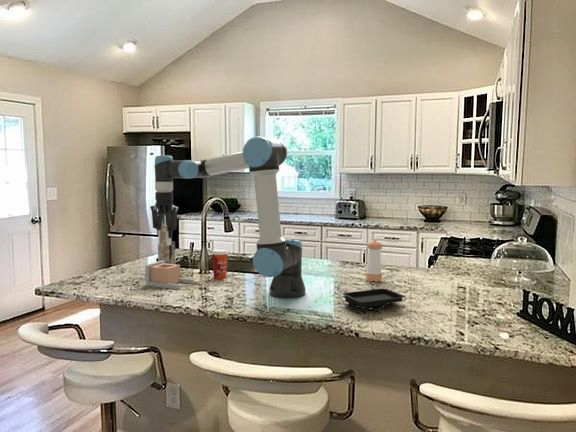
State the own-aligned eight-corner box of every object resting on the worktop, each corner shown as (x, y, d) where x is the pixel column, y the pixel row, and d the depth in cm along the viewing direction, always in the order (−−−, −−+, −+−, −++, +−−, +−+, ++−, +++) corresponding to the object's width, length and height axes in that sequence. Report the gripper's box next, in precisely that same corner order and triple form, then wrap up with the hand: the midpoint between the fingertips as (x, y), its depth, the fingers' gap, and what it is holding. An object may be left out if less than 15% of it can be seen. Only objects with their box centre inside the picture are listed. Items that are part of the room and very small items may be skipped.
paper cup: (219, 282, 216) (219, 252, 215) (208, 280, 221) (208, 250, 220) (231, 279, 222) (231, 250, 221) (220, 277, 227) (220, 248, 226)
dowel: (170, 256, 209) (170, 225, 207) (166, 257, 206) (165, 226, 204) (164, 256, 210) (163, 224, 209) (159, 257, 207) (159, 225, 205)
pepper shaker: (380, 278, 227) (382, 239, 225) (382, 282, 219) (383, 241, 217) (365, 278, 227) (366, 238, 225) (366, 281, 220) (367, 241, 218)
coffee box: (171, 277, 227) (170, 243, 225) (158, 276, 227) (157, 243, 225) (176, 272, 236) (175, 240, 234) (163, 272, 236) (162, 240, 234)
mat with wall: (206, 281, 218) (205, 260, 217) (181, 292, 199) (180, 268, 198) (171, 278, 225) (171, 257, 224) (144, 287, 206) (143, 265, 205)
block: (180, 282, 211) (180, 264, 211) (168, 287, 203) (167, 268, 202) (163, 280, 215) (163, 263, 214) (151, 285, 206) (150, 267, 206)
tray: (353, 293, 200) (353, 281, 200) (409, 299, 192) (410, 286, 192) (335, 313, 172) (335, 299, 172) (399, 321, 164) (400, 306, 164)
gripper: (185, 191, 205) (185, 244, 208) (154, 190, 211) (154, 242, 214) (175, 192, 198) (175, 247, 201) (143, 191, 204) (144, 244, 207)
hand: (165, 244), depth 207 cm, fingers closed on dowel, 3 cm apart
